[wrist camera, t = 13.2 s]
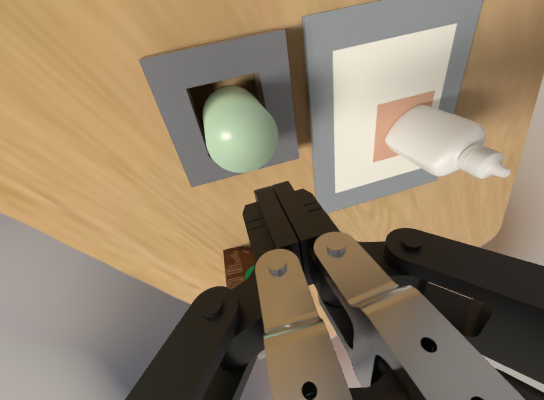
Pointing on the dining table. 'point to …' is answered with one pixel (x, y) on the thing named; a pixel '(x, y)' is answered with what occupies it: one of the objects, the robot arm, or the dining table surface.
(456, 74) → the sketch board
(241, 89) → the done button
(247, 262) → the food container
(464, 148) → the eye dropper bottle
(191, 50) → the button housing
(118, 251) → the dining table surface
